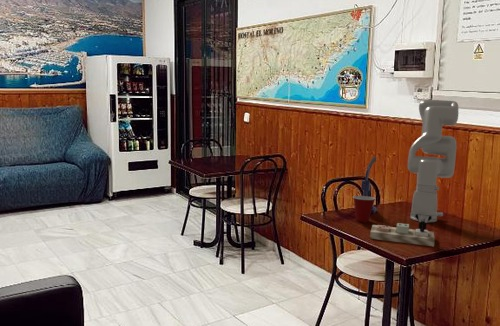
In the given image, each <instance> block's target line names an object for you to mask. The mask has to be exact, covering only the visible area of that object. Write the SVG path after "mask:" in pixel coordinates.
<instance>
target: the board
mask: <svg viewBox="0 0 500 326" xmlns="http://www.w3.org/2000/svg"><path fill="white" fill-rule="evenodd" d="M378 225H379V224H372V225H371V229H370V234H369V239H370V240H371V239H372V240H380V241H388V242H393V243H394V242H395V243H404V244H412V245H418V246H419V245H420V246H427V247H428V246H429V247H435V241H436V239H435V232H434V231H429V230H428V237H427V236H418V235H415V232H416V229H412V228H409V232H408V234H402V233H396V229H397V226H396V227H393V226H390V229H389V232H385V231H377V227H378Z"/></svg>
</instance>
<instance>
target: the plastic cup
mask: <svg viewBox="0 0 500 326" xmlns="http://www.w3.org/2000/svg"><path fill="white" fill-rule="evenodd" d="M352 198H353V203H354V211H355V212H354V213H355V219H356V221H357V222H358V223H359V222H360V223H368V222H369V221H370V217H371V214H372V213H371V210H372V206H374V203H375V201H376V197H373V196H371V197H368V196H363V195H354V196H352Z"/></svg>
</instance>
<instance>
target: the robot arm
mask: <svg viewBox="0 0 500 326" xmlns="http://www.w3.org/2000/svg"><path fill="white" fill-rule="evenodd" d="M418 110H419V115H420V116H419V117H420V120H421V122H422V125H421V134H420V137H418V138H417V139H415V141H414V142H413V143H412V144H411V146H410V148H409V150H408V158H407V169H408V171H409V172H410V173H413V174H416V187H415V189H416V190H414V192H413V196H412V201H411V212H410V217H409V218H410V219H411V220H413V221H417V222H418V229H420V231H423V232H424V230H427V223H435V222H438V217H443V216H444V213H443V212H442V211H441V212H438V193H437V191H440V186H437V178H442V179H443V178H446V179H447V178H448V179H449V178H450V179H451V178H452V177H453V176H454V175H455V174H454V173H455V169H456V168H455V167H456V157H457V156H456V155H457V140H456V138H455V137H454V136H452V135H443V134H442V132H443V126H455V125H456V124H457V123H458V121H459V105H458V102H457V101H454V100H444V99H443V100H441V99H425V100H421V101H420V102H419V103H418ZM419 149H421V151H422V152H423V153H424V154H426V155H436V156H437V155H438V156H443V157H435V156H420V155H416V153H417V151H419Z"/></svg>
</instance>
